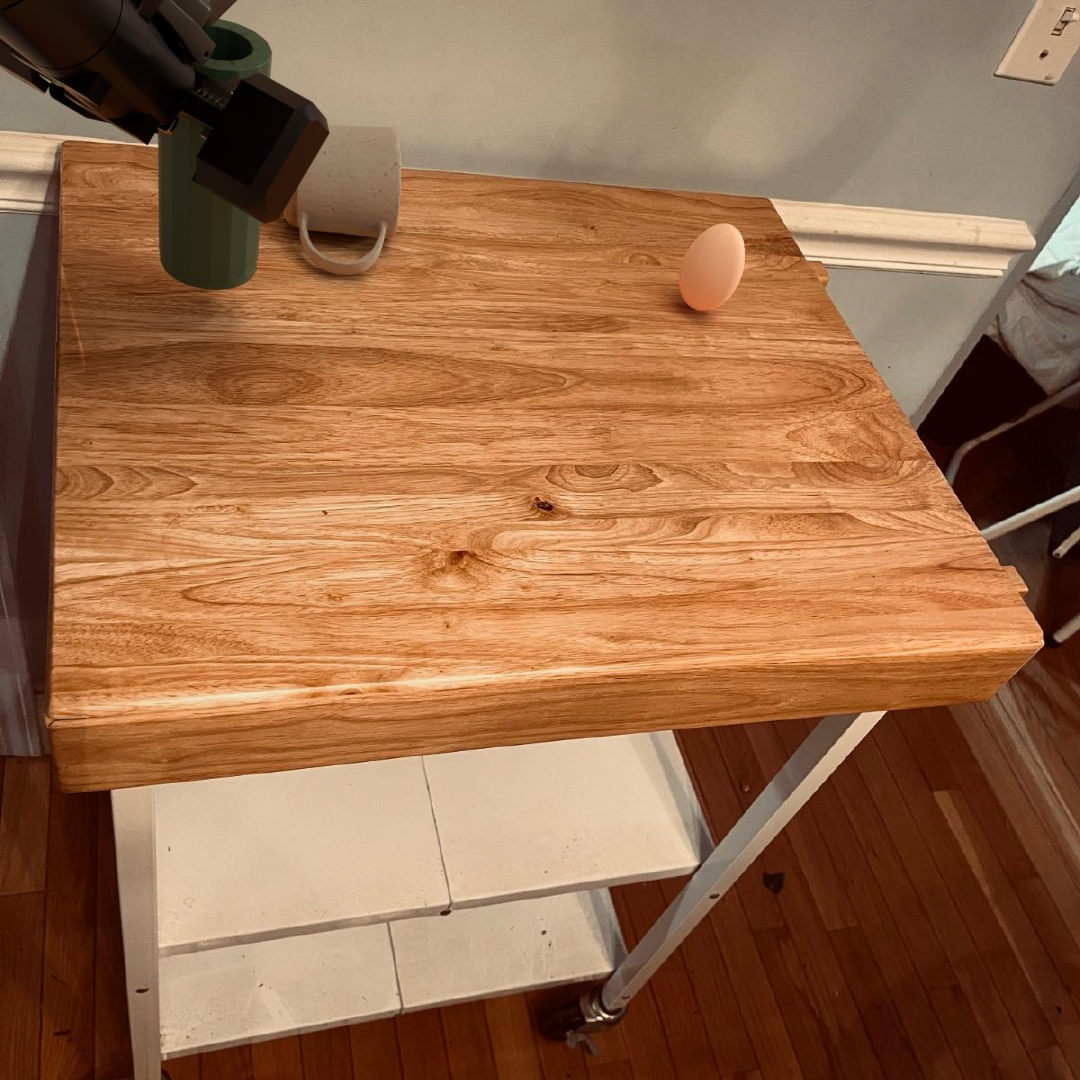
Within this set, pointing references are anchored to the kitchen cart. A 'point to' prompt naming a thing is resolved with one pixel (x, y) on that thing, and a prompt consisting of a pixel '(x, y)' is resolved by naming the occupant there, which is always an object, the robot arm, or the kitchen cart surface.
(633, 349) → the kitchen cart surface
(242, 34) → the hollow cylinder
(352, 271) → the ceramic mug
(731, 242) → the egg
